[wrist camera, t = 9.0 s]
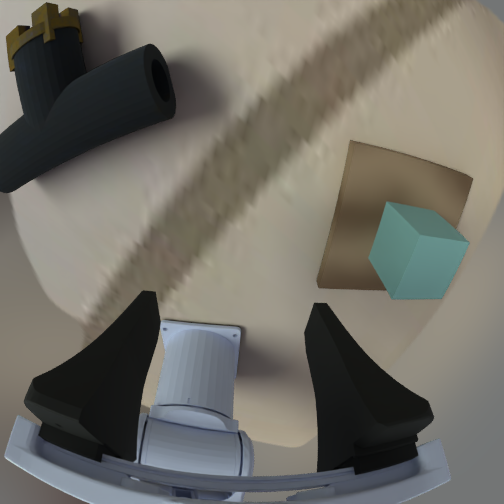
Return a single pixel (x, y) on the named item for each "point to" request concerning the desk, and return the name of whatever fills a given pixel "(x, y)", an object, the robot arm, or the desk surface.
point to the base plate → (382, 208)
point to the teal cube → (416, 252)
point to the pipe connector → (74, 96)
